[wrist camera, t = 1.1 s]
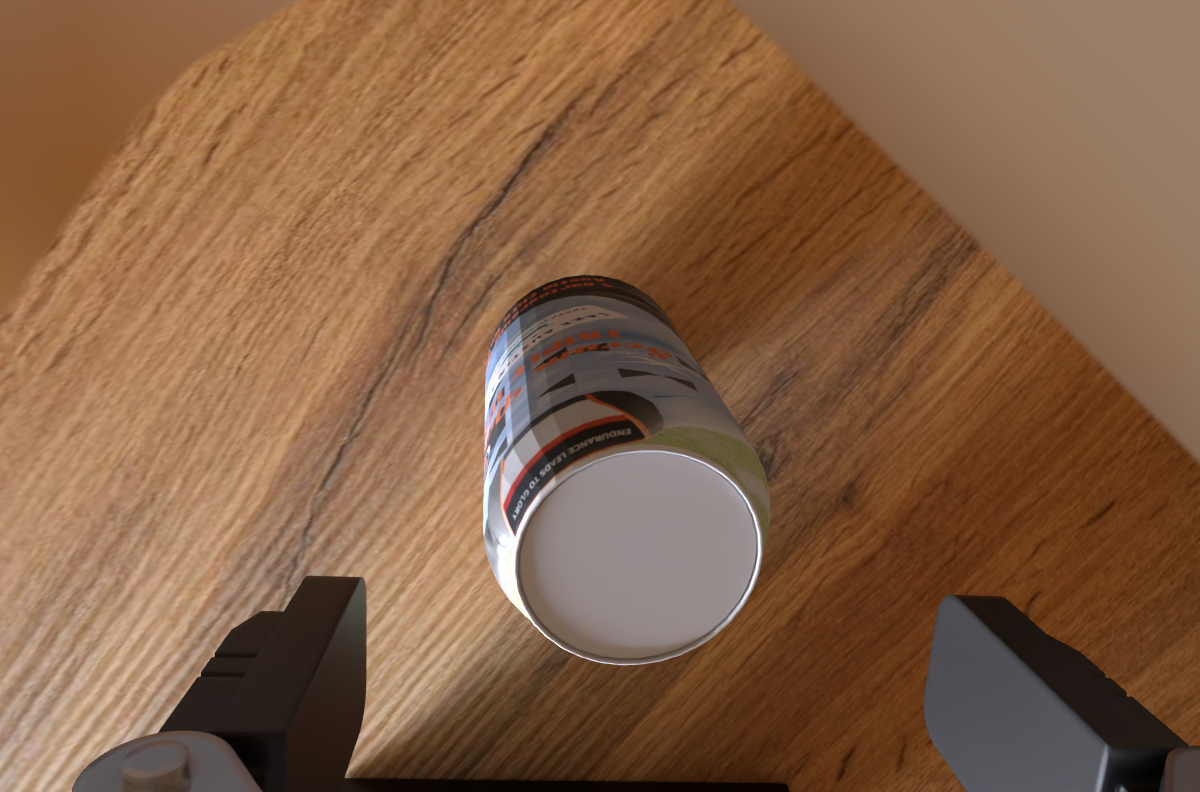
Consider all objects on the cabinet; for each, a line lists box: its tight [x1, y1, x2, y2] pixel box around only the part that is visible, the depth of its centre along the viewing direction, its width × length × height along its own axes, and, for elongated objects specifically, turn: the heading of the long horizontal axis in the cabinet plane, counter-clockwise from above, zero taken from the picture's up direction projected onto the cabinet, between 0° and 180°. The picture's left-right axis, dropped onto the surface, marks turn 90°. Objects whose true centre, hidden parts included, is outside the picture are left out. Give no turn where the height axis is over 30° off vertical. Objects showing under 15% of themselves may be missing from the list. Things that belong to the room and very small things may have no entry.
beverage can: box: [483, 275, 770, 665], centre depth 22 cm, size 6×7×12 cm
